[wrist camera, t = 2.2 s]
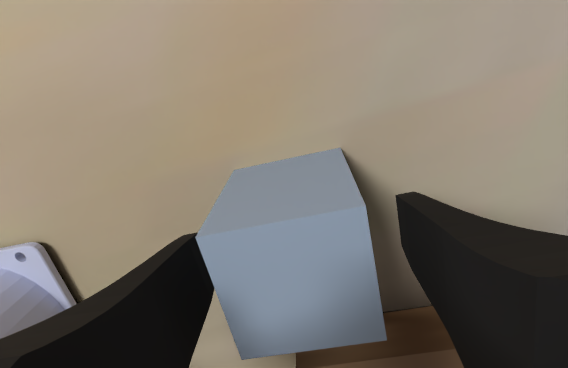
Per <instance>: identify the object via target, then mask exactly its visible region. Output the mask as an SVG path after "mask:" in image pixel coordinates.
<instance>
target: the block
mask: <svg viewBox="0 0 568 368" xmlns="http://www.w3.org/2000/svg"><path fill="white" fill-rule="evenodd" d="M195 238H196V241H197V243H198V246H199V248H200V251H201V254H202V256H203V259H204V262H205V264H206V267H207V270H208V272H209V275H210V277H211V280H212V283H213V285H214V288H215V291H216V293H217V296H218V298H219V301H220V304H221V306H222V309H223V312H224V314H225V317H226V320H227V322H228V325H229V327H230V330H231V333H232V335H233V338H234V341H235V343H236V346H237V349H238V351H239V354H240V356H241V359H242V360H244V359H251V358H259V357H266V356H274V355H281V354H289V353H296V352H303V351H311V350H318V349H326V348H333V347H341V346H348V345H356V344H363V343H370V342H378V341H385V340H387V337H386V330H385V324H384V318H383V311H382V305H381V299H380V293H379V286H378V280H377V274H376V267H375V261H374V255H373V248H372V242H371V236H370V230H369V223H368V217H367V211H366V205H365V203H364V201H363V198H362V196H361V194H360V191H359V189H358V187H357V185H356V182H355V180H354V178H353V176H352V173H351V171H350V169H349V166H348V164H347V162H346V160H345V157H344V155H343V153H342V150H341V148H336V149H331V150H327V151H322V152H317V153H313V154H308V155H303V156H298V157H294V158H289V159H284V160H280V161H275V162H270V163H265V164H261V165H256V166H251V167H247V168H242V169H237V170H234V171H233V173H232V175H231V176H230V178H229V180H228V182H227V183H226V185H225V187H224V189H223V190H222V192H221V194H220V196H219V197H218V199H217V201H216V202H215V204H214V206H213V208H212V209H211V211H210V213H209V215H208V216H207V218H206V220H205V222H204V223H203V225H202V227H201V229H200V230H199V232H198V234H197V236H196V237H195Z"/></svg>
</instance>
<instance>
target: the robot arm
mask: <svg viewBox="0 0 568 368" xmlns="http://www.w3.org/2000/svg"><path fill="white" fill-rule="evenodd" d="M396 203H397V211H398V219H399V227H400V235H401V244H402V247H403V250H404V252H405V255H406V257H407V260H408V262H409V265H410V267H411V269H412V271H413V273H414V274H415V276H416V278H417V280H418V281H419V283H420V285H421V287H422V288H423V290H424V292H425V293H426V295H427V297H428V298H429V300H430V302H431V304H432V305H433V307H434V309H435V310H436V312H437V314H438V315H439V317H440V319H441V321H442V322H443V324H444V326H445V328H446V330H447V332H448V334H449V336H450V338H451V340H452V342H453V344H454V347H455V349H456V351H457V353H458V355H459V358H460V360H461V362H462V364H463V366H464V368H568V236H565V235H559V234H553V233H547V232H541V231H535V230H530V229H525V228H521V227H516V226H512V225H508V224H504V223H500V222H496V221H493V220H489V219H486V218H483V217H480V216H477V215H474V214H471V213H468V212H465V211H462V210H460V209H457V208H454V207H452V206H449V205H447V204H444V203H442V202H439V201H437V200H435V199H432V198H430V197H427V196H425V195H422V194H420V193H417V192H409V193H404V194H399V195H396ZM197 234H198V233H193V234H187V235H183V236H181V237H180V238H178V239H176V240H175V241H173V242H172V243H170V244H169V245H167V246H166V247H164V248H163V249H162V250H160V251H159V252H157V253H156V254H155V255H153V256H152V257H150V258H149V259H148V260H146V261H145V262H143V263H142V264H141V265H139V266H138V267H136V268H135V269H133V270H132V271H130V272H129V273H127V274H126V275H125V276H123V277H122V278H120V279H119V280H117V281H116V282H114V283H112V284H111V285H109V286H108V287H106V288H104V289H103V290H101V291H99V292H98V293H96V294H94V295H92V296H91V297H89V298H87V299H85V300H84V301H82V302H80V303H78V304H76V302H75V300H74V298H73V297H72V295H71V293H70V291H69V290H68V288H67V286H66V285H65V283H64V281H63V279H62V278H61V276H60V274H59V272H58V271H57V269H56V267H55V266H54V264H53V262H52V260H51V259H50V257H49V255H48V253H47V252H46V250H45V248H44V247H43V246H42V245H40V244H39V243H36V242H28V243H23V244H18V245H13V246H9V247H4V248H0V368H189V365H190V362H191V358H192V355H193V352H194V350H195V347H196V344H197V341H198V338H199V336H200V333H201V330H202V327H203V324H204V322H205V319H206V316H207V313H208V310H209V307H210V304H211V301H212V296H213V292H214V285H213V283H212V280H211V277H210V275H209V272H208V270H207V267H206V264H205V262H204V259H203V256H202V254H201V251H200V248H199V246H198V243H197V241H196V238H195V237H196V236H197ZM22 253H23V254H24V255H25V256H24V255H23V254H22Z"/></svg>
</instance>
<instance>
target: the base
mask: <svg viewBox="0 0 568 368" xmlns="http://www.w3.org/2000/svg"><path fill="white" fill-rule="evenodd" d="M383 318H384V324H385V330H386V337H387V340H385V341H378V342H370V343H363V344H356V345H348V346H341V347H333V348H326V349H318V350H311V351H303V352H296V368H464V366H463V364H462V362H461V360H460V358H459V355H458V353H457V351H456V349H455V347H454V344H453V342H452V340H451V338H450V336H449V334H448V332H447V330H446V328H445V326H444V324H443V322H442V321H441V319H440V317H439V315H438V314H437V312H436V310H435V309H434V307H433V306H427V307H421V308H414V309H407V310H400V311H394V312H387V313H383Z"/></svg>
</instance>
